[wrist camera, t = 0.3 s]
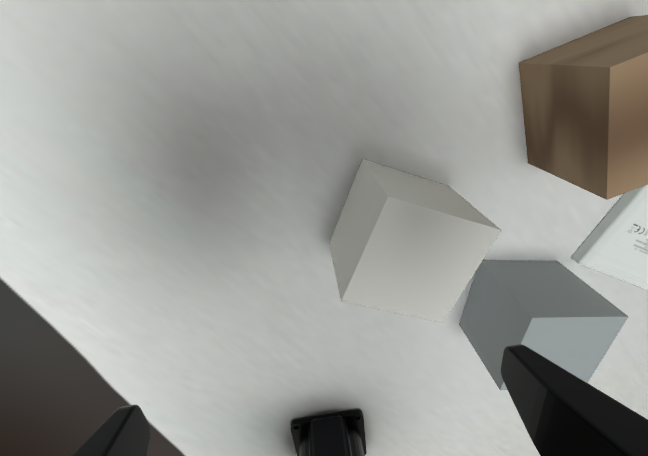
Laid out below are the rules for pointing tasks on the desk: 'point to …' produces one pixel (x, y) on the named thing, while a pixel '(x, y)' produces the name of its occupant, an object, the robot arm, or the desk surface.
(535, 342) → the slate-grey block
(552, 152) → the walnut block
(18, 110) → the desk surface
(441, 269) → the off-white cube
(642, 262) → the external hard drive
